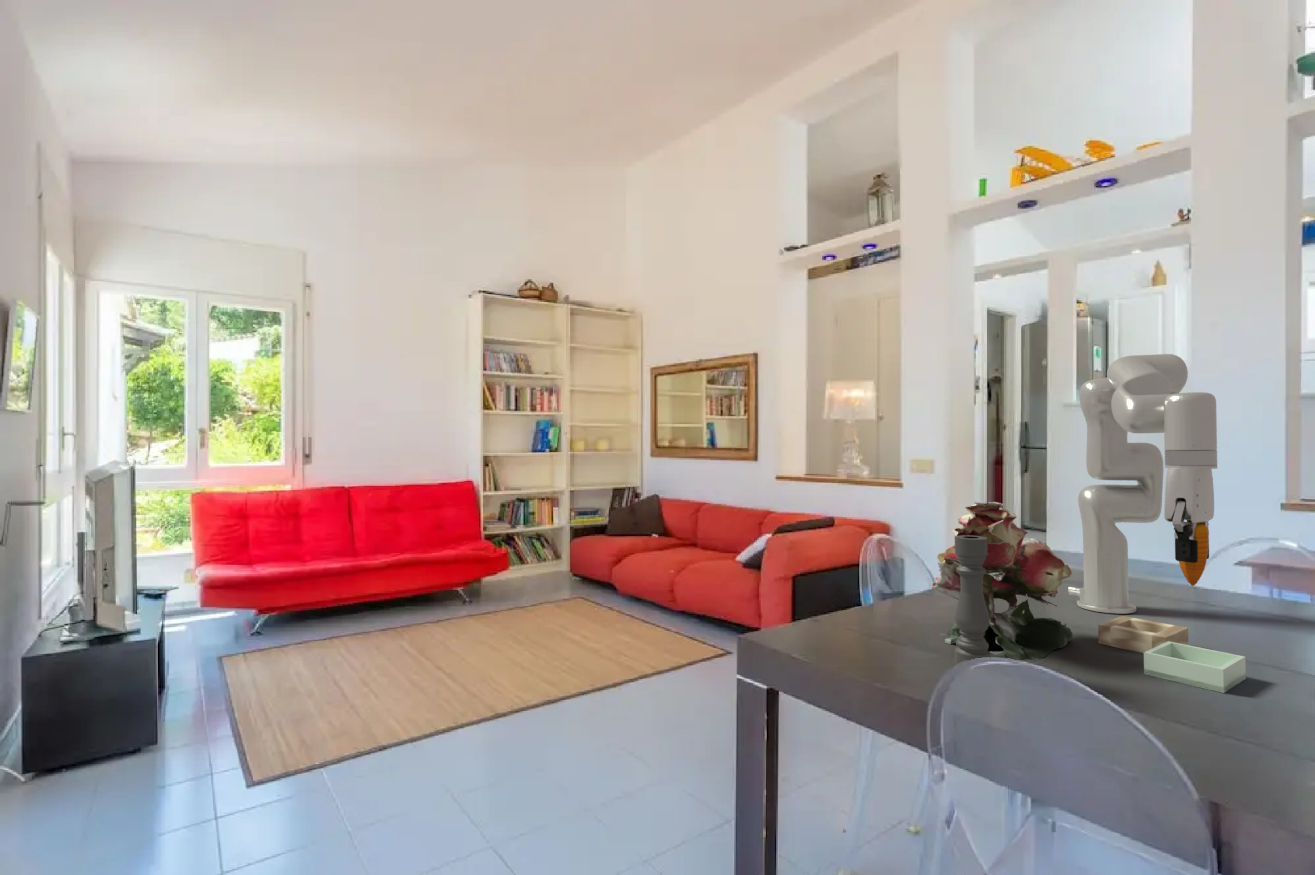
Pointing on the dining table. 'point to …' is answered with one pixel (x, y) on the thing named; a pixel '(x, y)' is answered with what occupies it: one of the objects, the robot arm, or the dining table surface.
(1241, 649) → the dining table surface
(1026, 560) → the rose bouquet
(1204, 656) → the tray
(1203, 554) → the carrot
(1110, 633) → the wooden stand
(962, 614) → the candle holder
